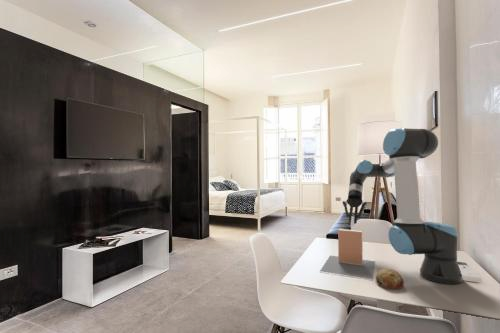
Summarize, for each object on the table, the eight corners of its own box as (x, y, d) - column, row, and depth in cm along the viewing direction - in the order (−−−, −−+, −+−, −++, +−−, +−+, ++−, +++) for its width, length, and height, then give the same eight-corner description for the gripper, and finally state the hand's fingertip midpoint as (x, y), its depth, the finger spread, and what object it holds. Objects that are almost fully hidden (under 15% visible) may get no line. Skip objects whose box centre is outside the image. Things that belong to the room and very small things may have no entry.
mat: (330, 256, 151) (330, 255, 151) (375, 262, 142) (375, 261, 142) (319, 272, 128) (319, 271, 128) (373, 280, 118) (373, 279, 118)
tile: (339, 260, 142) (339, 228, 143) (362, 263, 138) (362, 230, 138) (338, 262, 140) (338, 229, 140) (362, 265, 135) (362, 232, 135)
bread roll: (374, 290, 118) (367, 273, 117) (390, 276, 121) (384, 260, 120) (393, 300, 108) (386, 282, 107) (411, 285, 112) (404, 268, 111)
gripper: (367, 198, 163) (365, 233, 148) (344, 197, 169) (340, 230, 154) (367, 189, 158) (365, 224, 143) (342, 188, 164) (338, 222, 149)
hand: (352, 227), depth 148 cm, fingers closed
